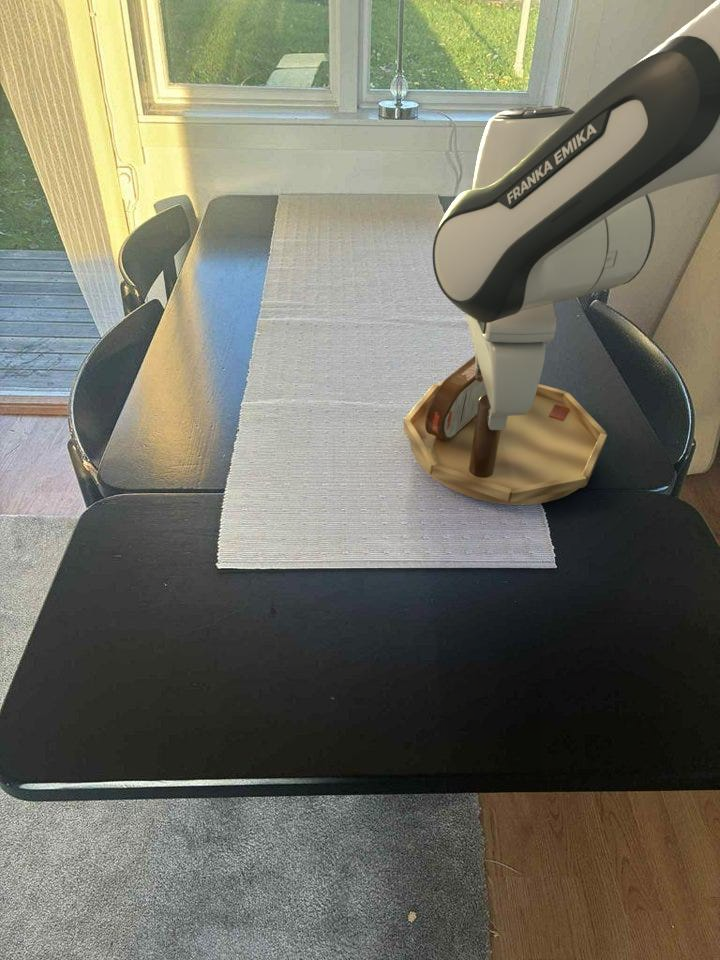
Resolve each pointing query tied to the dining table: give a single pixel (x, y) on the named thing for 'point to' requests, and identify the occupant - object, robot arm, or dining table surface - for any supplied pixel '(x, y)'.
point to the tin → (455, 402)
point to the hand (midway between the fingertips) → (488, 401)
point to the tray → (512, 450)
